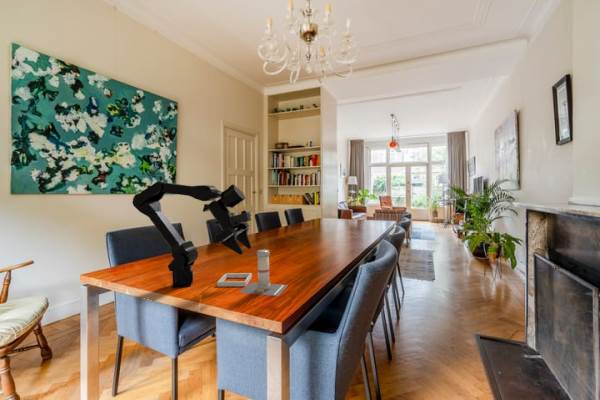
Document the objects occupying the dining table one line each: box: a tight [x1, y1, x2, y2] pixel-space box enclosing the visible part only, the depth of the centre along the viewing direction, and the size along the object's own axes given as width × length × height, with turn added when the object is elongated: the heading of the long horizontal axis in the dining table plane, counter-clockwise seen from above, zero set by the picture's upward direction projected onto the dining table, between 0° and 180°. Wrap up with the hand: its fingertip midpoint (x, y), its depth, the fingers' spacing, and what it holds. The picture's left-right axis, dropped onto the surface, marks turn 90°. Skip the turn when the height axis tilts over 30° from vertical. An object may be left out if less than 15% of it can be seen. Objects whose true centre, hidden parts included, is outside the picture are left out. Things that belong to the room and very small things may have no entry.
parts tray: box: [216, 272, 253, 287], centre depth 101 cm, size 10×10×2 cm
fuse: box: [256, 249, 271, 291], centre depth 93 cm, size 4×4×13 cm
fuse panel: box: [238, 281, 288, 297], centre depth 93 cm, size 14×10×2 cm
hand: (246, 251), depth 98 cm, fingers open, 9 cm apart
